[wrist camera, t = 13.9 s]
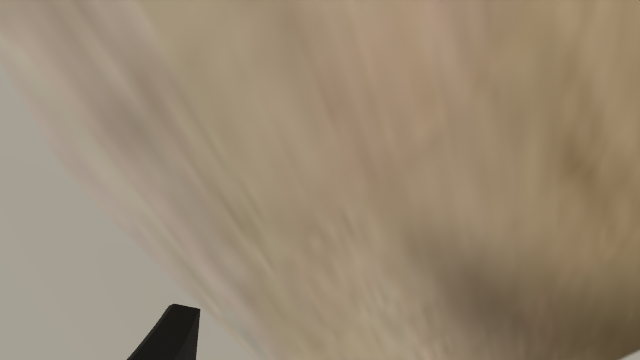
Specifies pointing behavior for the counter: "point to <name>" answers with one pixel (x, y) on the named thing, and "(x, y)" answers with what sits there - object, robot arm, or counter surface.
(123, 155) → the counter surface
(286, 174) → the counter surface
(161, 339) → the robot arm
